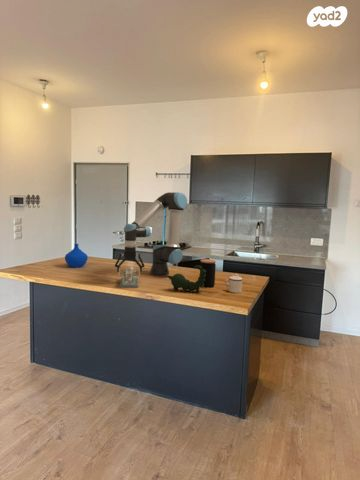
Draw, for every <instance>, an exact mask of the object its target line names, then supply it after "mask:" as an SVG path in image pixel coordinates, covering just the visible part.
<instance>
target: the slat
mask: <svg viewBox="0 0 360 480" xmlns="http://www.w3.org/2000/svg"><path fill="white" fill-rule="evenodd" d="M133 275H134V267H133V266H126V283H132V276H133Z"/></svg>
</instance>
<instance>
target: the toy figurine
mask: <svg viewBox="0 0 360 480" xmlns="http://www.w3.org/2000/svg"><path fill="white" fill-rule="evenodd" d="M193 269H198V271H200V270H201V273H200V272H199V277H198V278H197V280H196V281H190V279H186V277H185V275H184V274H182V273H175V274H173V275H166V277H167V278H168V279H169V280H170V282H171V285H172V286H173V287H172V288H173V290H174V291H178V290H179V289H181V290H182V291H183V292H186V291H187V290H188V291H189V293H193V292H194V291H196V292H199V291H200V288H201V287H202V288H205V287H204V283H203V282H205V279H204V278H205V276H206V274H205V273H206V270H205V269H202V267H201V266H200V265H194V266H193Z"/></svg>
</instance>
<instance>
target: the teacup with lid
mask: <svg viewBox="0 0 360 480" xmlns="http://www.w3.org/2000/svg"><path fill="white" fill-rule="evenodd" d="M243 279H244V278H242V277H241V276H239V275H238V273H234V275H231V276H229V277H228V279H225V280H224V281H223V282H224V286H225V287H226V288H228V292H230V293H233V294H234V293H235V294H239V293H242V291H243ZM227 281H228V285H227V283H226V282H227Z"/></svg>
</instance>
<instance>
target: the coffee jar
mask: <svg viewBox="0 0 360 480" xmlns="http://www.w3.org/2000/svg"><path fill="white" fill-rule="evenodd" d="M216 262H217V261H216V260H215V259H209V258H207V259H206V258H205V259H204V258H202V259H200V266H201V267H202V269H205V270H206V273H205V274H206V276H205V278H204V279H205V282H203V283H204V287H203V288H207V287H210V288H214V286H215V285H216V269H217V268H216V266H217V265H216ZM200 273H201V270H199V274H200Z"/></svg>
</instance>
